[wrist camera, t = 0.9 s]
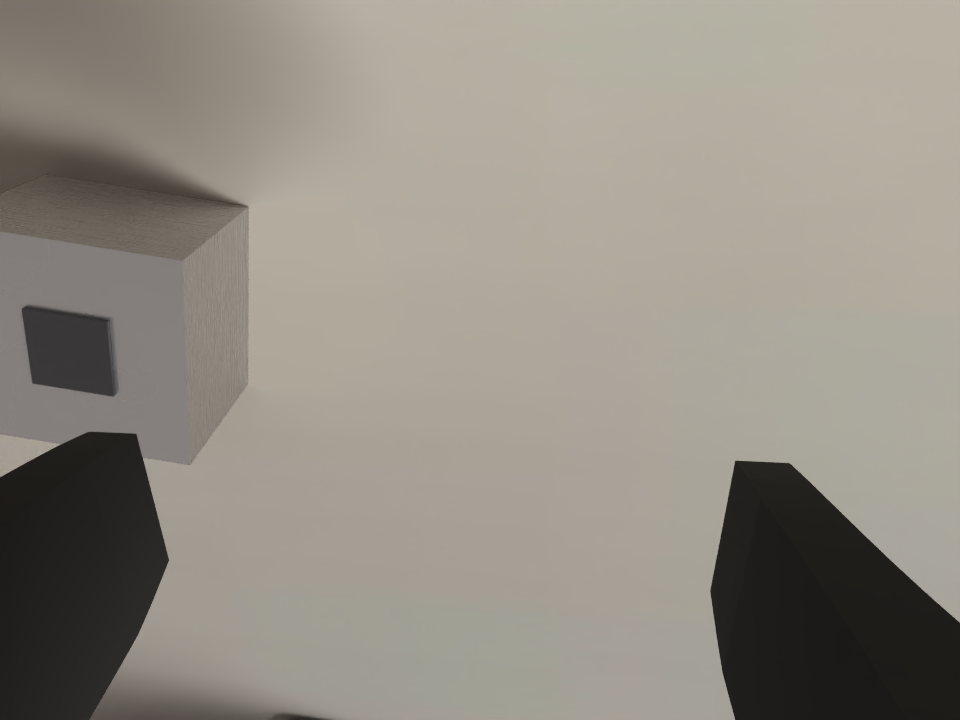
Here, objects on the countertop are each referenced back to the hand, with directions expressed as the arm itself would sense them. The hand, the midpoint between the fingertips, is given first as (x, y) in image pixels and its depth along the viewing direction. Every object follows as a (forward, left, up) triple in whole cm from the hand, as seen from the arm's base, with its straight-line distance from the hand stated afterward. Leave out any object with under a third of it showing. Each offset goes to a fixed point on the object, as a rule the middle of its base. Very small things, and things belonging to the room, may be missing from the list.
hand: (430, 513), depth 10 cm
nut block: (-3, +8, -11) cm, 14 cm away
